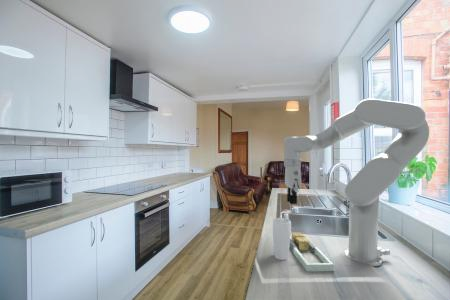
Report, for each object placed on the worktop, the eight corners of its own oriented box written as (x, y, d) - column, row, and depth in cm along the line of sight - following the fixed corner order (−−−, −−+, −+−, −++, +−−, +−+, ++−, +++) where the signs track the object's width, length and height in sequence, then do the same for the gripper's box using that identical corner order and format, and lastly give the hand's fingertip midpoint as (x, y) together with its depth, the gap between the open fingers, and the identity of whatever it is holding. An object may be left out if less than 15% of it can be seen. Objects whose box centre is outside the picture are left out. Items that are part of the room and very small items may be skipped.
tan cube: (304, 246, 95) (305, 237, 95) (308, 251, 91) (308, 241, 91) (295, 246, 95) (295, 237, 95) (298, 251, 91) (299, 241, 91)
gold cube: (300, 241, 100) (300, 232, 100) (303, 245, 96) (304, 236, 96) (291, 241, 100) (291, 232, 100) (294, 245, 96) (294, 236, 96)
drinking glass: (291, 264, 82) (291, 224, 82) (272, 262, 84) (272, 222, 84) (289, 256, 89) (290, 218, 89) (272, 254, 90) (272, 217, 90)
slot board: (304, 242, 102) (304, 235, 101) (315, 255, 90) (315, 247, 89) (285, 243, 101) (285, 235, 101) (294, 256, 89) (294, 248, 89)
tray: (316, 255, 90) (317, 247, 89) (334, 274, 77) (334, 264, 77) (293, 256, 89) (293, 247, 89) (306, 274, 76) (306, 264, 76)
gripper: (307, 164, 97) (306, 207, 98) (294, 162, 114) (293, 198, 114) (290, 164, 97) (289, 207, 97) (279, 162, 113) (279, 198, 114)
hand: (291, 202), depth 106 cm, fingers open, 2 cm apart
